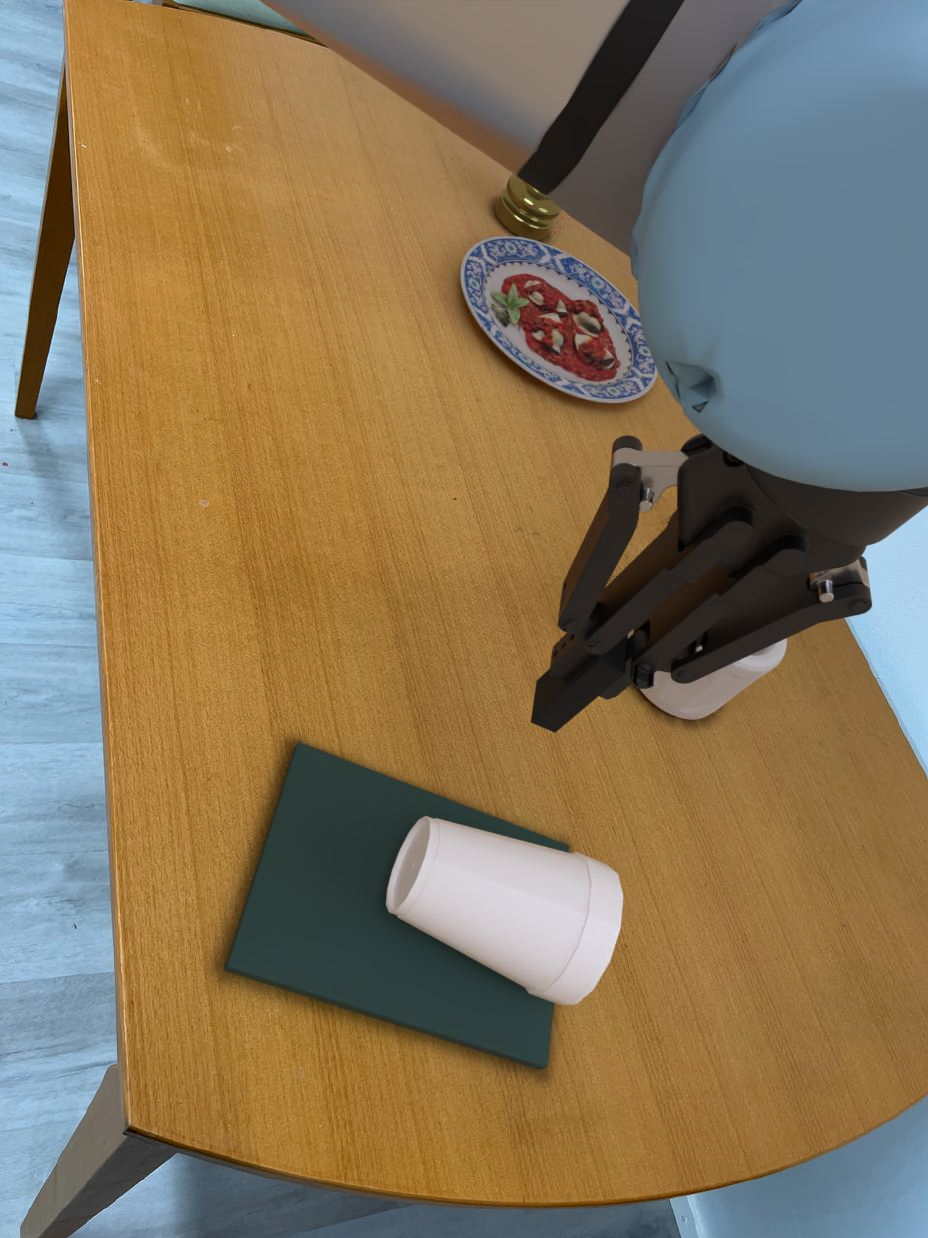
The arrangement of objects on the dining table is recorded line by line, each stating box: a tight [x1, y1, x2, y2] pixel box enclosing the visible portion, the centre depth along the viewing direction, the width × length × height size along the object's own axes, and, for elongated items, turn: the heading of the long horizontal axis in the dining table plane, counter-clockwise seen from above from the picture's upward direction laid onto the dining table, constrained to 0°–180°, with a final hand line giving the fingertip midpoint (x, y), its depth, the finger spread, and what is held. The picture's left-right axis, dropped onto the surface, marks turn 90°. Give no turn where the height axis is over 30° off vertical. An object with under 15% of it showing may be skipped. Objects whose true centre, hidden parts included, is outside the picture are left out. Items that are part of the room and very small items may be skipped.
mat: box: [223, 741, 570, 1071], centre depth 66 cm, size 22×16×1 cm
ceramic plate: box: [459, 235, 659, 404], centre depth 111 cm, size 26×26×3 cm
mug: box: [628, 630, 788, 720], centre depth 86 cm, size 14×11×10 cm
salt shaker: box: [494, 173, 563, 241], centre depth 118 cm, size 7×7×10 cm
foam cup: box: [386, 816, 624, 1006], centre depth 63 cm, size 10×9×13 cm
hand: (545, 706), depth 51 cm, fingers closed
